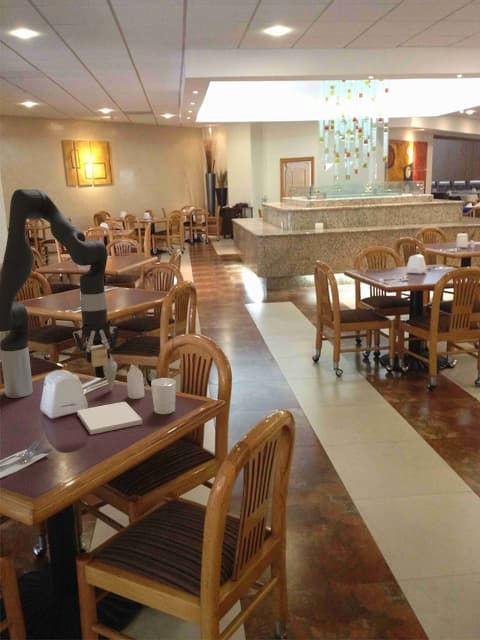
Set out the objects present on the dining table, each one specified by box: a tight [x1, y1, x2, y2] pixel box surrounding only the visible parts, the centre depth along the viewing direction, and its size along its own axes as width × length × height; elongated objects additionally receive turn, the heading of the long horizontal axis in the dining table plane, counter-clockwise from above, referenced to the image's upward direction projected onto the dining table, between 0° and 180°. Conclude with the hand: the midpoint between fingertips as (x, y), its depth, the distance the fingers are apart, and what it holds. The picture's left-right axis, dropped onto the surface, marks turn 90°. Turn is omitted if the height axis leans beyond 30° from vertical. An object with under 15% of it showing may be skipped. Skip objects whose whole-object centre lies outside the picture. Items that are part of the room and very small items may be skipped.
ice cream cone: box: [102, 353, 118, 392], centre depth 206 cm, size 5×5×15 cm
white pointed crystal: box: [126, 363, 145, 400], centre depth 200 cm, size 6×12×6 cm
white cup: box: [150, 377, 176, 415], centre depth 187 cm, size 8×8×10 cm
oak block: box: [90, 344, 108, 368], centre depth 175 cm, size 6×4×5 cm
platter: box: [76, 401, 143, 435], centre depth 181 cm, size 18×16×2 cm
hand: (98, 361), depth 176 cm, fingers closed on oak block, 4 cm apart
